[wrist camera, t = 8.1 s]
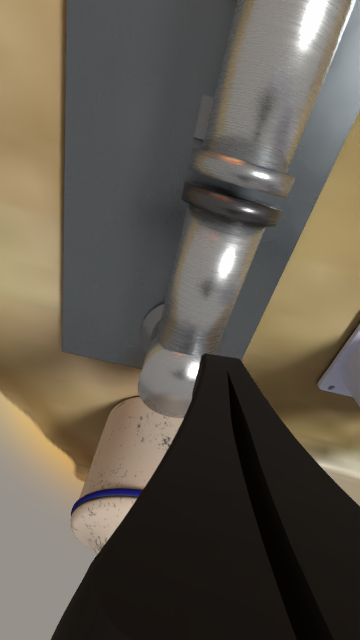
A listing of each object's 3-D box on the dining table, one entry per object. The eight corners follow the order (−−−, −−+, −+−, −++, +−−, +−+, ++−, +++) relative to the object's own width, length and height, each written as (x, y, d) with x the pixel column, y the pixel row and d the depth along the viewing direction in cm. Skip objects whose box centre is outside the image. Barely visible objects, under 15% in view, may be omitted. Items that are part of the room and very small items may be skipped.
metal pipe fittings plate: (227, 383, 23) (235, 445, 18) (65, 346, 22) (25, 402, 17) (439, -74, 10) (675, -303, 5) (76, -213, 9) (-71, -666, 4)
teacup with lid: (120, 454, 29) (80, 605, 19) (93, 395, 25) (23, 553, 15) (229, 449, 28) (247, 610, 18) (222, 386, 23) (241, 555, 13)
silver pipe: (203, 368, 21) (204, 424, 17) (146, 356, 21) (132, 409, 16) (267, 200, 15) (297, 217, 10) (187, 178, 14) (181, 185, 10)
